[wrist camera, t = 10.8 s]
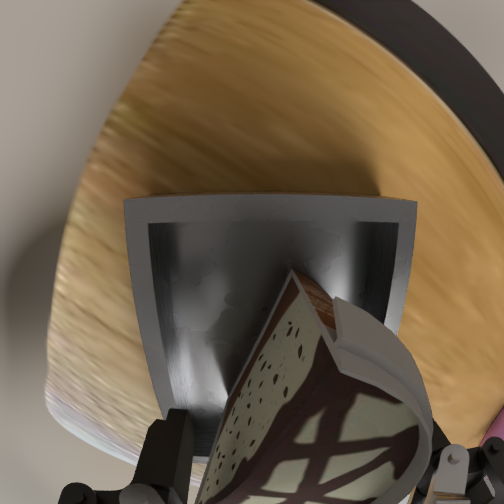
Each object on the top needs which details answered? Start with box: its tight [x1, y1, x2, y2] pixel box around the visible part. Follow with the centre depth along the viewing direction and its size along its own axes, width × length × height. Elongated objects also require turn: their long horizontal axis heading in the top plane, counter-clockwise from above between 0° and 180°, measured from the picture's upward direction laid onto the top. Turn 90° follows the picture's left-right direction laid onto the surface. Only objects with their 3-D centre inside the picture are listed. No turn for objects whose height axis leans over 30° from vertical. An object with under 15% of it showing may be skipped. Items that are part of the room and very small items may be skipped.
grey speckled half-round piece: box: [195, 268, 433, 504], centre depth 10 cm, size 12×6×10 cm, turn 158°
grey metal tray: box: [124, 191, 417, 464], centre depth 14 cm, size 12×17×4 cm
